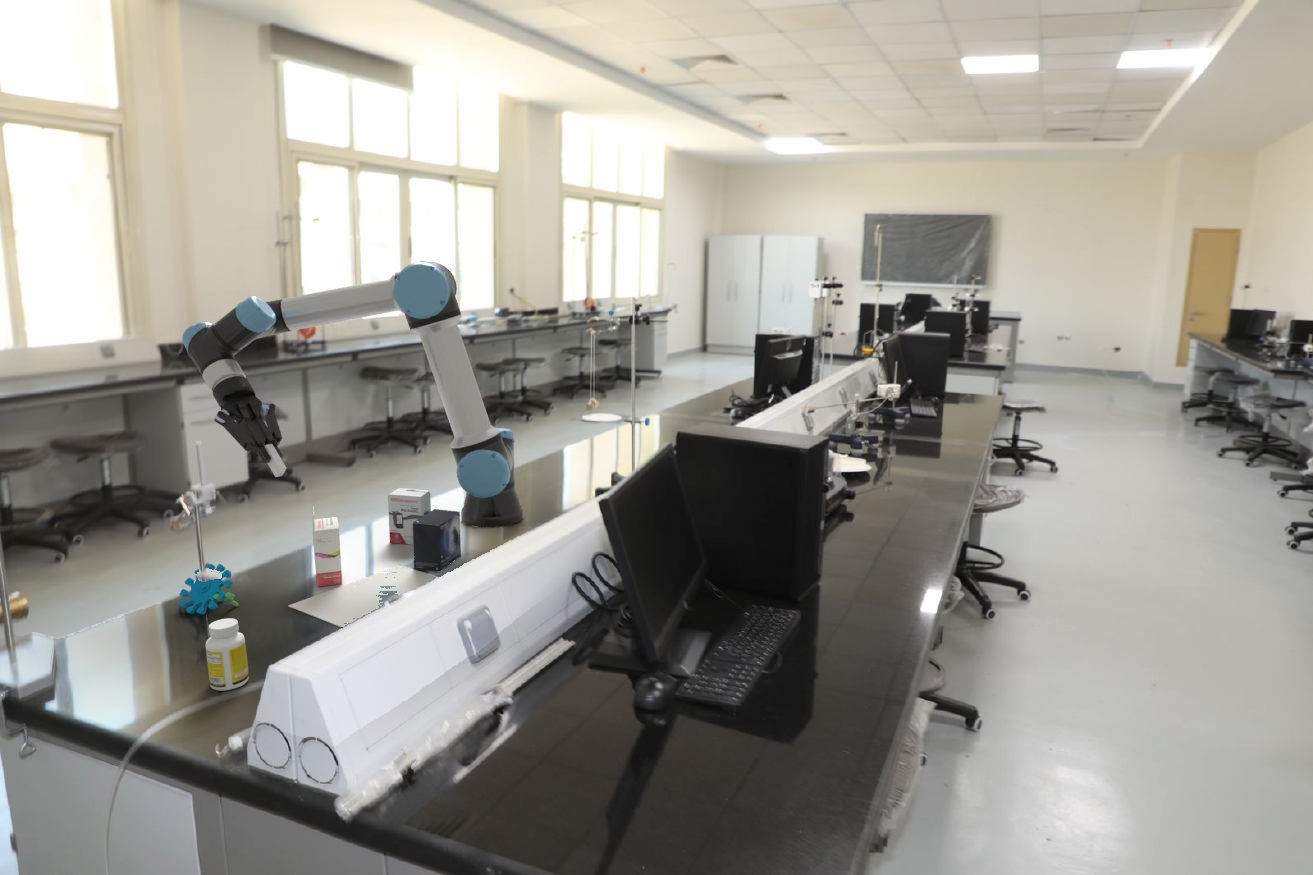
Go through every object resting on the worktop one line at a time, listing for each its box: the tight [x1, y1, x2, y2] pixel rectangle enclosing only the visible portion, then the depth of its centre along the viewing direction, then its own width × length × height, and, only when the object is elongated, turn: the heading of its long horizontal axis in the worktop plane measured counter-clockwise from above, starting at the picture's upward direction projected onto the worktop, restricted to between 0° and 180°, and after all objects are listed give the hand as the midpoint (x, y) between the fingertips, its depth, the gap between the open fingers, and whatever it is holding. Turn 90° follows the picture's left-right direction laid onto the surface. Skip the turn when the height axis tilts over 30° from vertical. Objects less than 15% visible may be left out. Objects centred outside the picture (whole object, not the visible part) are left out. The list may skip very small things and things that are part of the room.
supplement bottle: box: [205, 617, 250, 692], centre depth 128 cm, size 5×5×10 cm
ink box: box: [387, 487, 432, 546], centre depth 193 cm, size 9×5×12 cm, turn 78°
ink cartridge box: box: [312, 505, 343, 588], centre depth 170 cm, size 9×5×15 cm, turn 23°
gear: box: [179, 563, 240, 615], centre depth 157 cm, size 11×6×10 cm
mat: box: [287, 564, 437, 628], centre depth 163 cm, size 26×18×1 cm
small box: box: [412, 508, 462, 573], centre depth 180 cm, size 11×6×10 cm, turn 168°
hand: (281, 472), depth 175 cm, fingers closed
